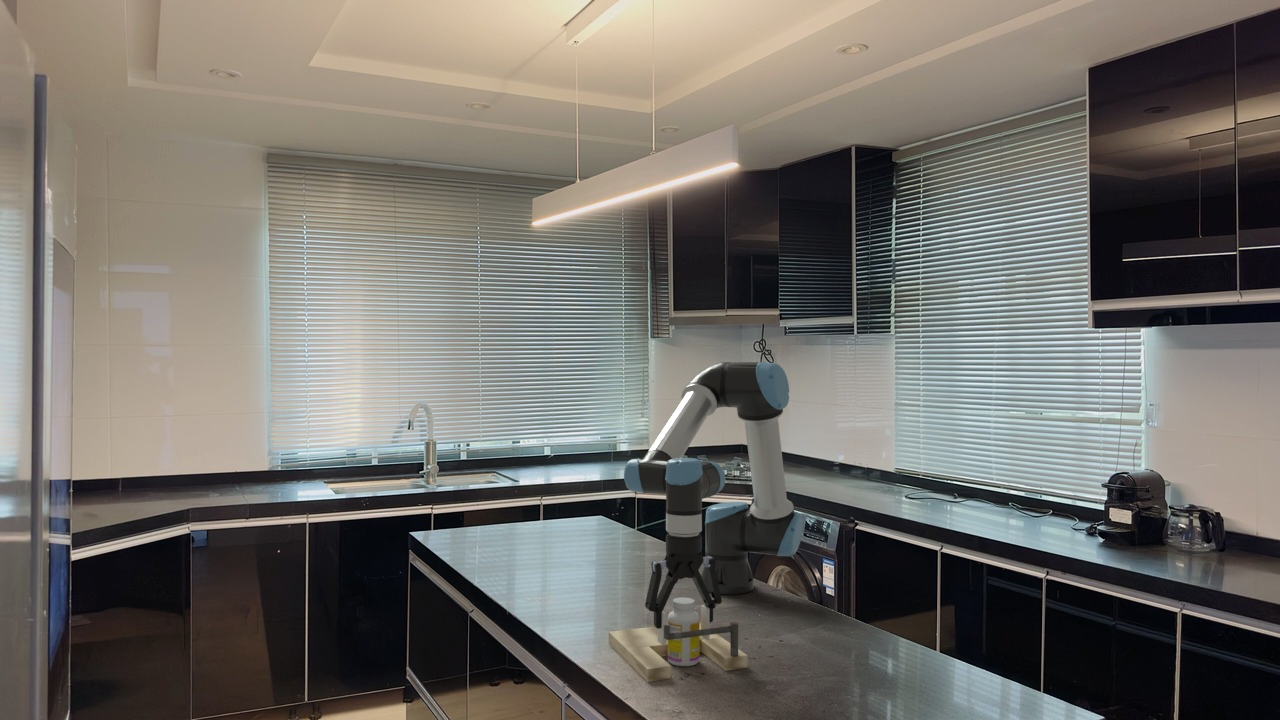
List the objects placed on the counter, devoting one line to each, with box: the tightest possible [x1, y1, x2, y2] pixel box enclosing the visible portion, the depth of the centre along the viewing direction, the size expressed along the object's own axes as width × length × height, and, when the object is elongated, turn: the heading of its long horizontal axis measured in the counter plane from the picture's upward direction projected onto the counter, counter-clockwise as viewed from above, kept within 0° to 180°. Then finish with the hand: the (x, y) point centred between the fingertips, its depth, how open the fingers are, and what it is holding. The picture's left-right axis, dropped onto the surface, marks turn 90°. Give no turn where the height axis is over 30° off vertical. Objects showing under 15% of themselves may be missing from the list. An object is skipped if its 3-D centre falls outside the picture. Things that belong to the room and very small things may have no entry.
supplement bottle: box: [667, 597, 701, 667], centre depth 178 cm, size 7×7×13 cm
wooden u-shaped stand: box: [608, 621, 749, 683], centre depth 182 cm, size 22×24×10 cm
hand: (683, 640), depth 178 cm, fingers open, 9 cm apart
